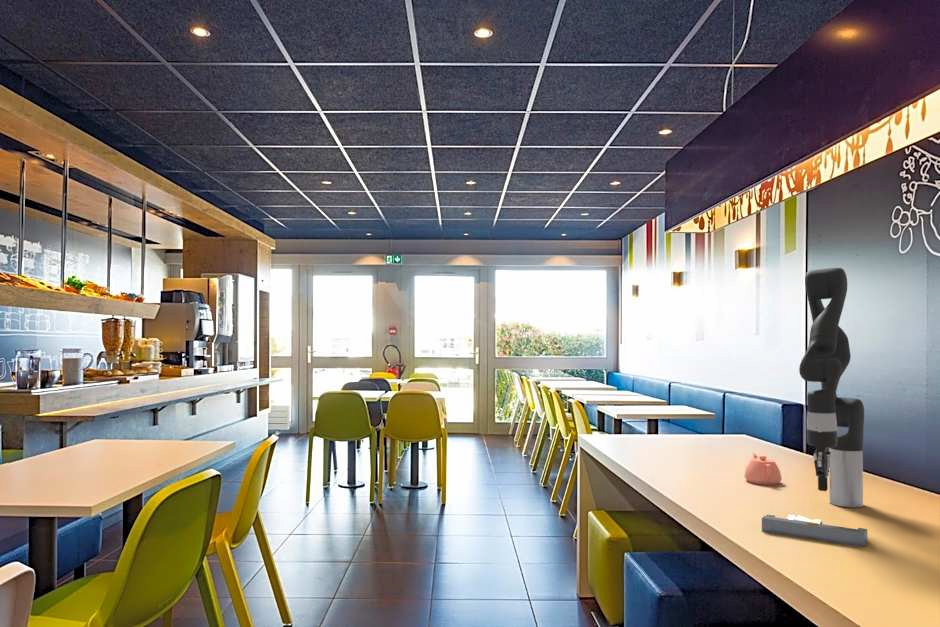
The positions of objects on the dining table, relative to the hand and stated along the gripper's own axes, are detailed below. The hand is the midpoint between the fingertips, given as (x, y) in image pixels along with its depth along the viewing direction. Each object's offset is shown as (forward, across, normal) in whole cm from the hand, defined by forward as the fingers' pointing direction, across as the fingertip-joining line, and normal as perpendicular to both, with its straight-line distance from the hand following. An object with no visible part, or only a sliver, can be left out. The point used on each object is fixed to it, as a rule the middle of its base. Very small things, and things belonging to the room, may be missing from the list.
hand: (822, 490), depth 192 cm
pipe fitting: (+10, +10, -3) cm, 14 cm away
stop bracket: (+9, +15, -1) cm, 17 cm away
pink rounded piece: (+11, -52, -26) cm, 59 cm away
